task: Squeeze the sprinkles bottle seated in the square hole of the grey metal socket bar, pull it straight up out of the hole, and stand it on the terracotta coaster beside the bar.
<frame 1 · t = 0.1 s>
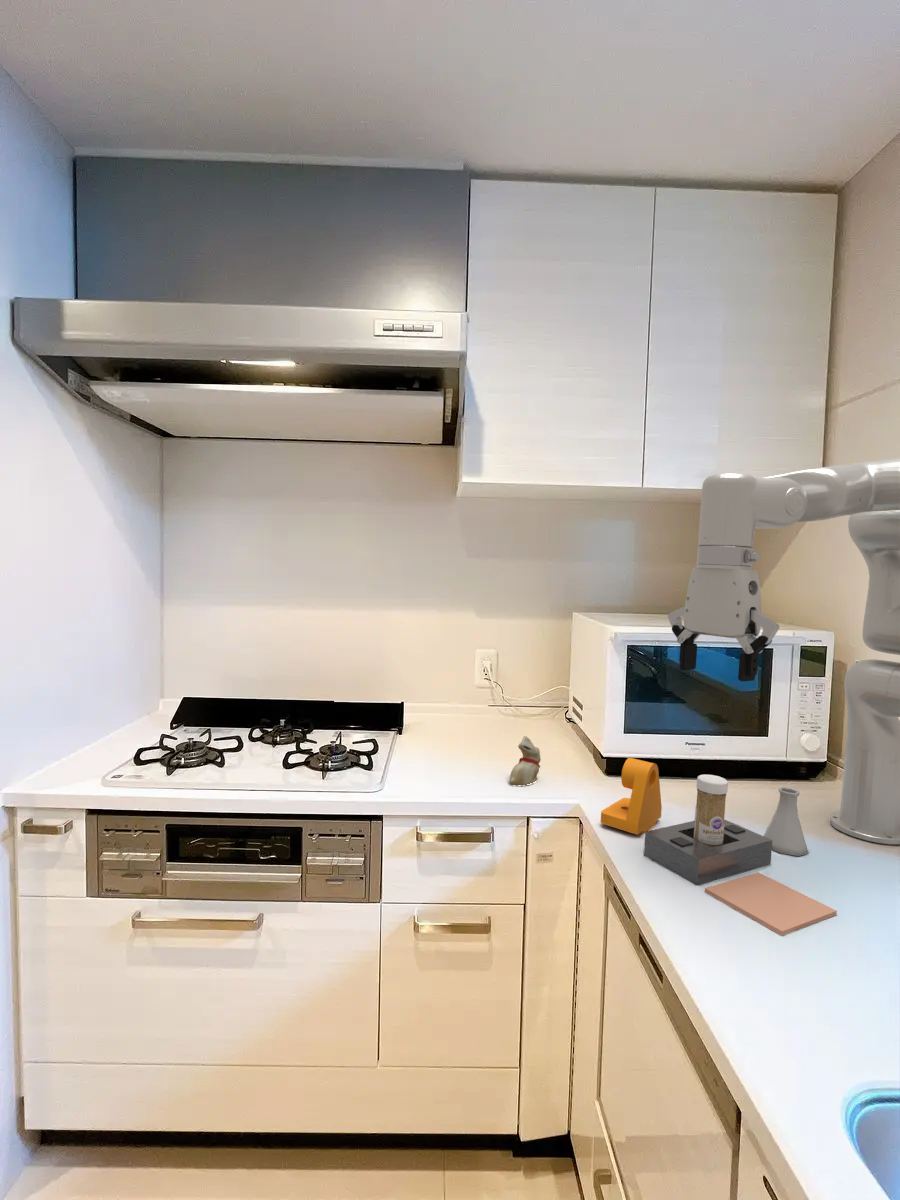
hand: (715, 674, 96), 31 cm above the worktop, tool pointing down, fingers open, 9 cm apart
socket bar: (706, 860, 104), on the worktop
bracket: (629, 825, 117), on the worktop
flask: (784, 848, 110), on the worktop
sprinkles bottle: (706, 861, 104), resting in socket bar
chocolate bunny: (524, 782, 137), on the worktop
coaster: (768, 903, 91), on the worktop
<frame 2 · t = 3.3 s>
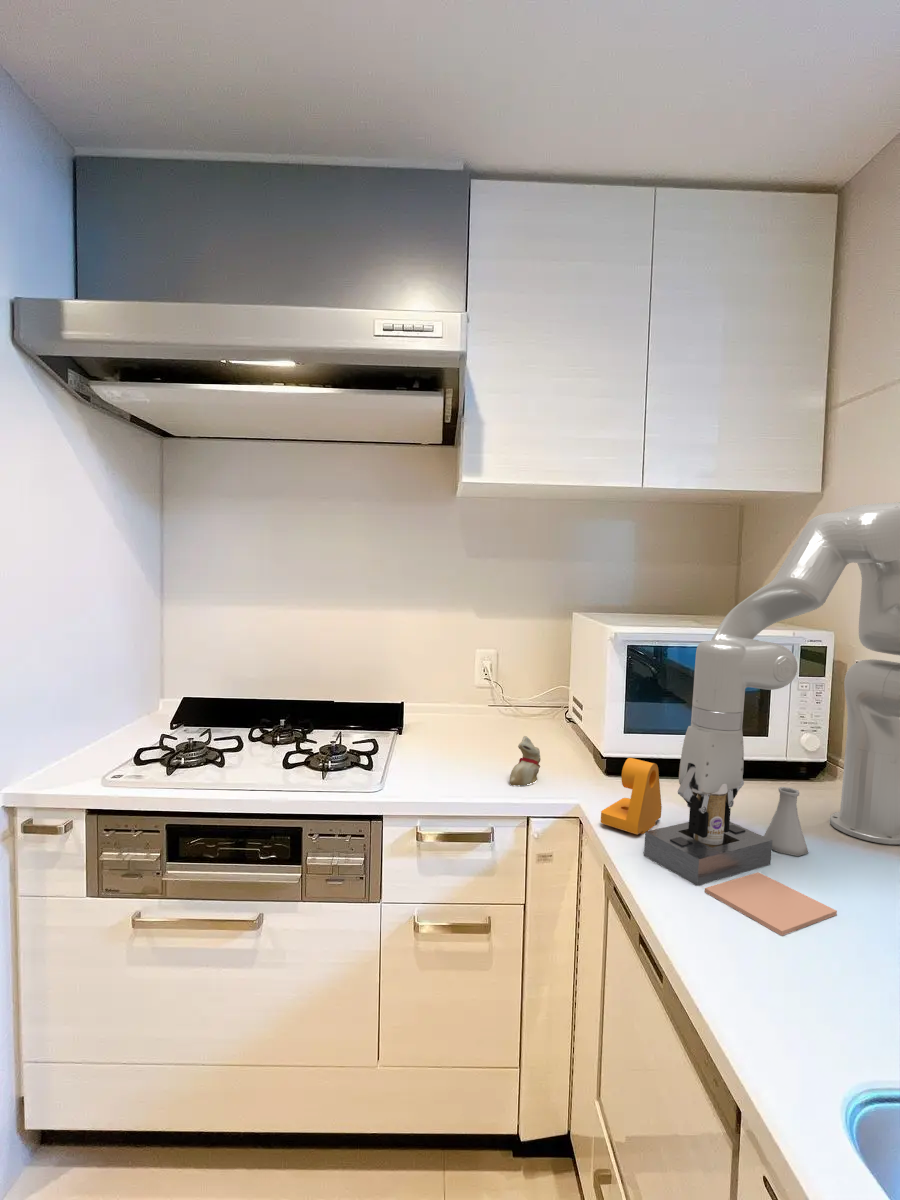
hand: (708, 830, 103), 5 cm above the worktop, tool pointing down, fingers closed on sprinkles bottle, 4 cm apart
sprinkles bottle: (706, 861, 104), resting in socket bar, touching gripper
everything else where it was.
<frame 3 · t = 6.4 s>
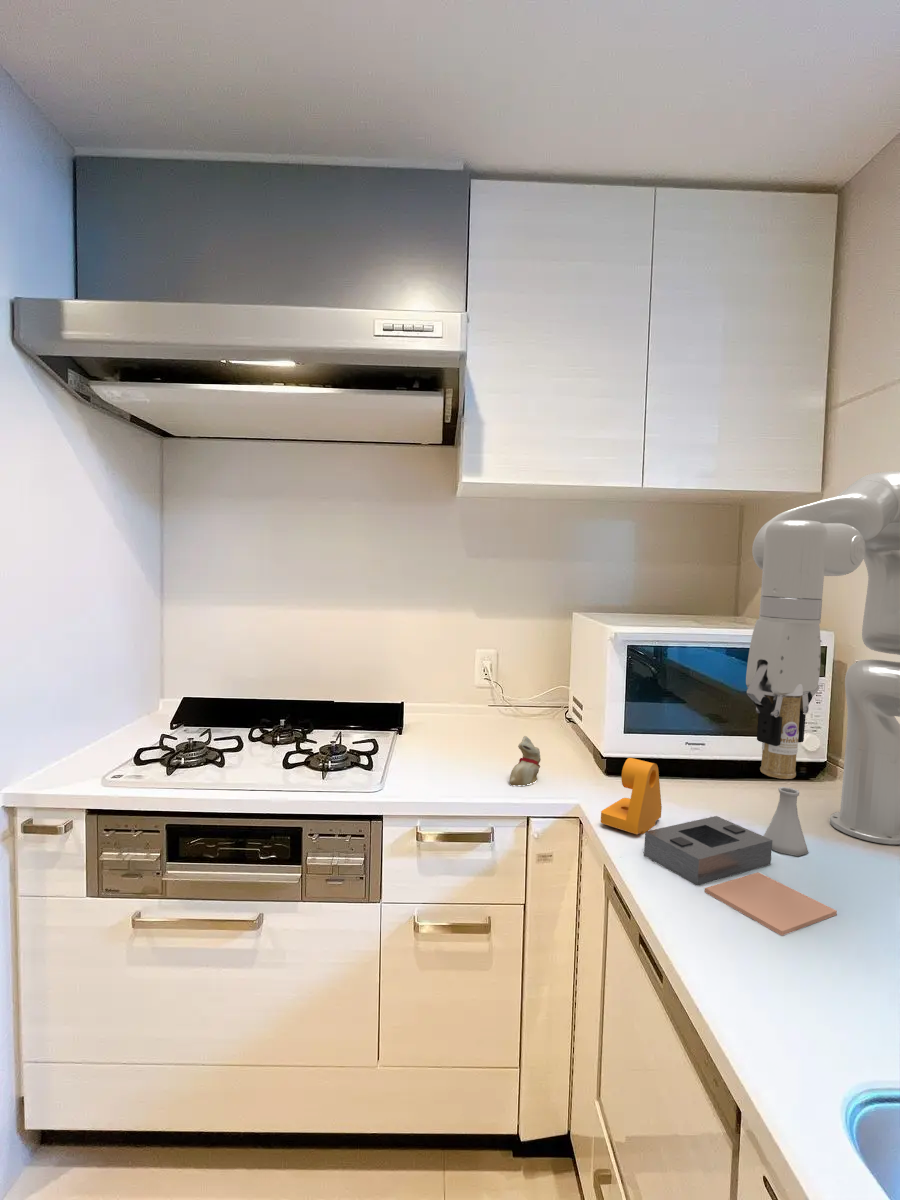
hand: (780, 740, 90), 23 cm above the worktop, tool pointing down, fingers closed on sprinkles bottle, 4 cm apart
sprinkles bottle: (777, 776, 90), point 18 cm above the worktop, touching gripper
everything else where it was.
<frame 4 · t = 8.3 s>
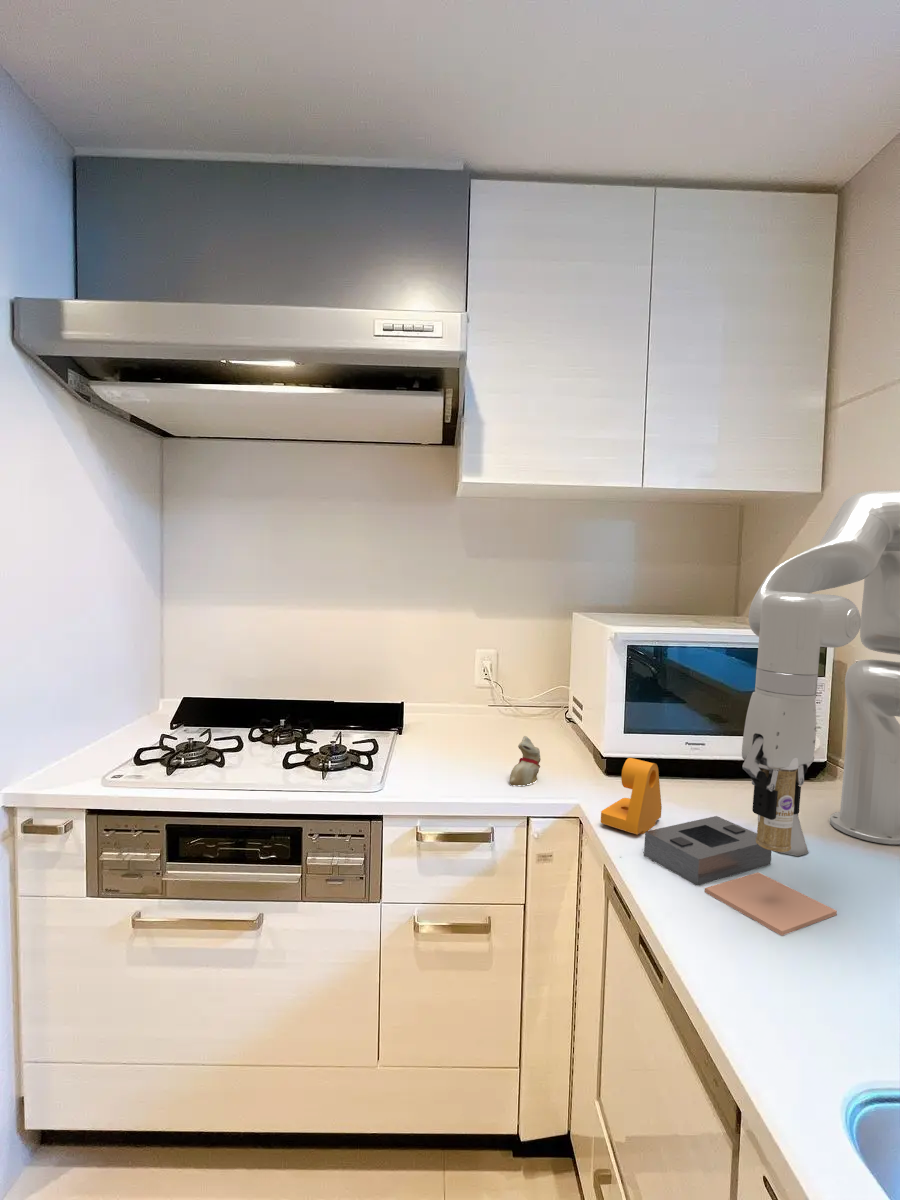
hand: (775, 812, 90), 13 cm above the worktop, tool pointing down, fingers closed on sprinkles bottle, 4 cm apart
sprinkles bottle: (773, 847, 90), point 8 cm above the worktop, touching gripper
everything else where it was.
when the fingers open (7 cm above the worktop, at t = 9.9 s): sprinkles bottle drops 1 cm, resting on coaster.
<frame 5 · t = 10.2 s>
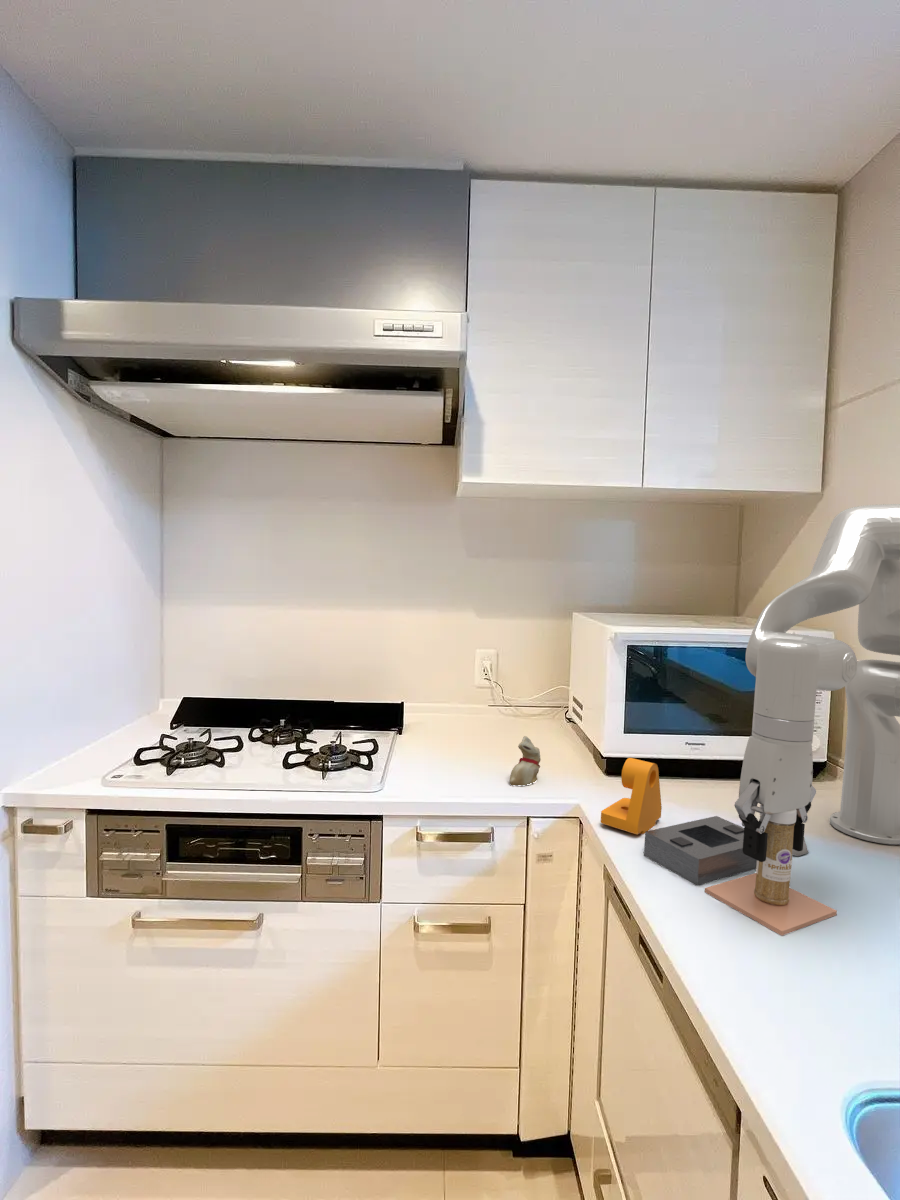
hand: (772, 851, 90), 7 cm above the worktop, tool pointing down, fingers open, 7 cm apart
sprinkles bottle: (771, 899, 91), resting on coaster
everything else where it was.
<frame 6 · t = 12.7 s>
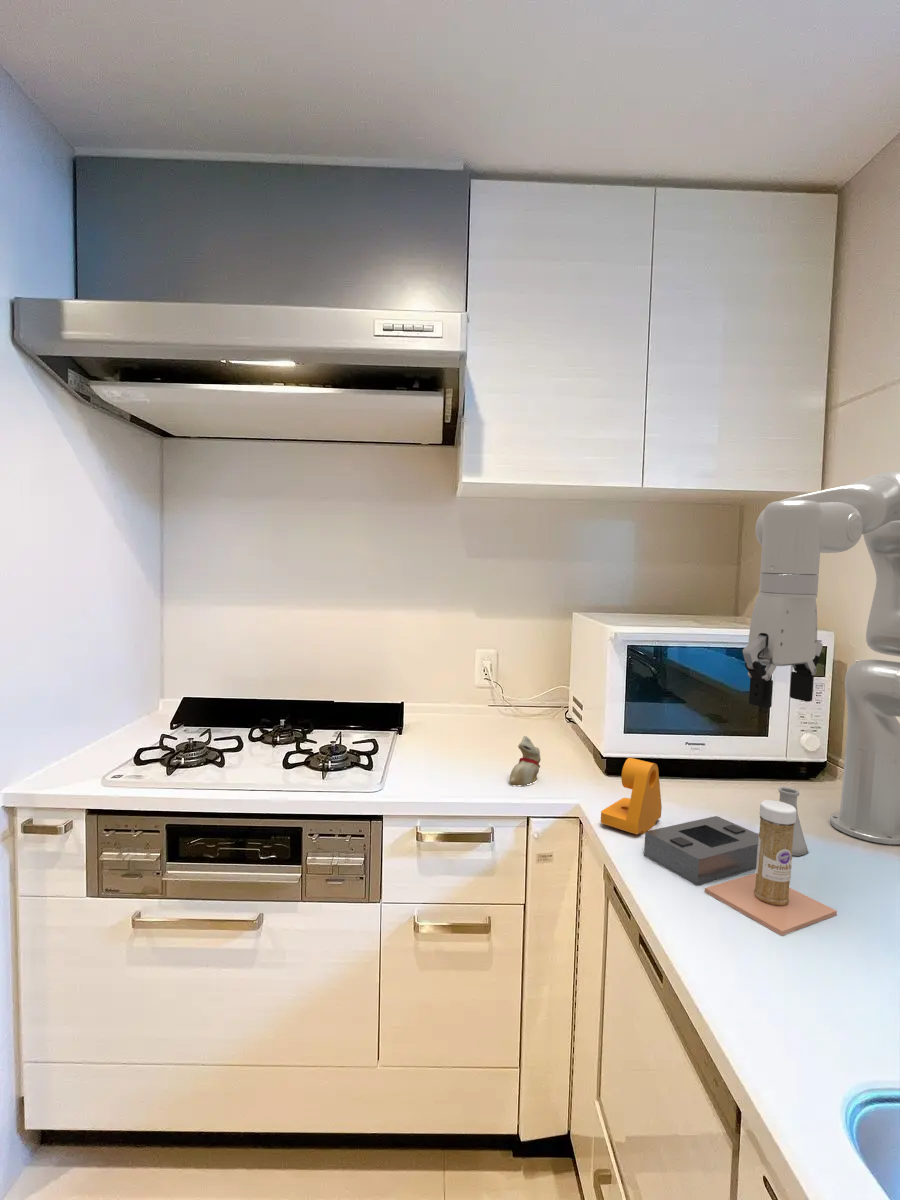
hand: (780, 702, 95), 27 cm above the worktop, tool pointing down, fingers open, 9 cm apart
nothing on the worktop moved.
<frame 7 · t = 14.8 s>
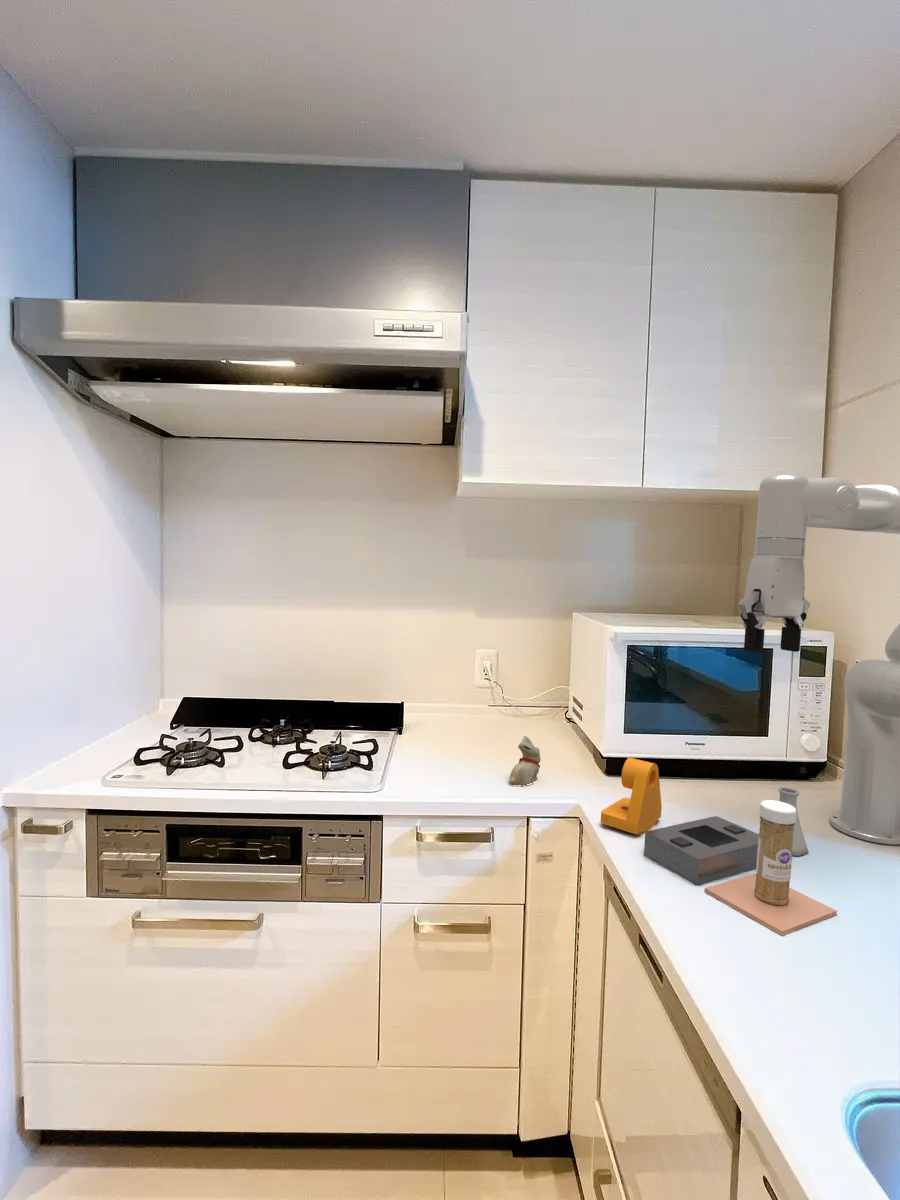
hand: (771, 651, 109), 33 cm above the worktop, tool pointing down, fingers open, 9 cm apart
nothing on the worktop moved.
at the end: sprinkles bottle inside the target area on the coaster (0.5 cm from its centre), point 0.4 cm above the coaster's base; sprinkles bottle tilted 0°; the gripper is holding nothing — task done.
